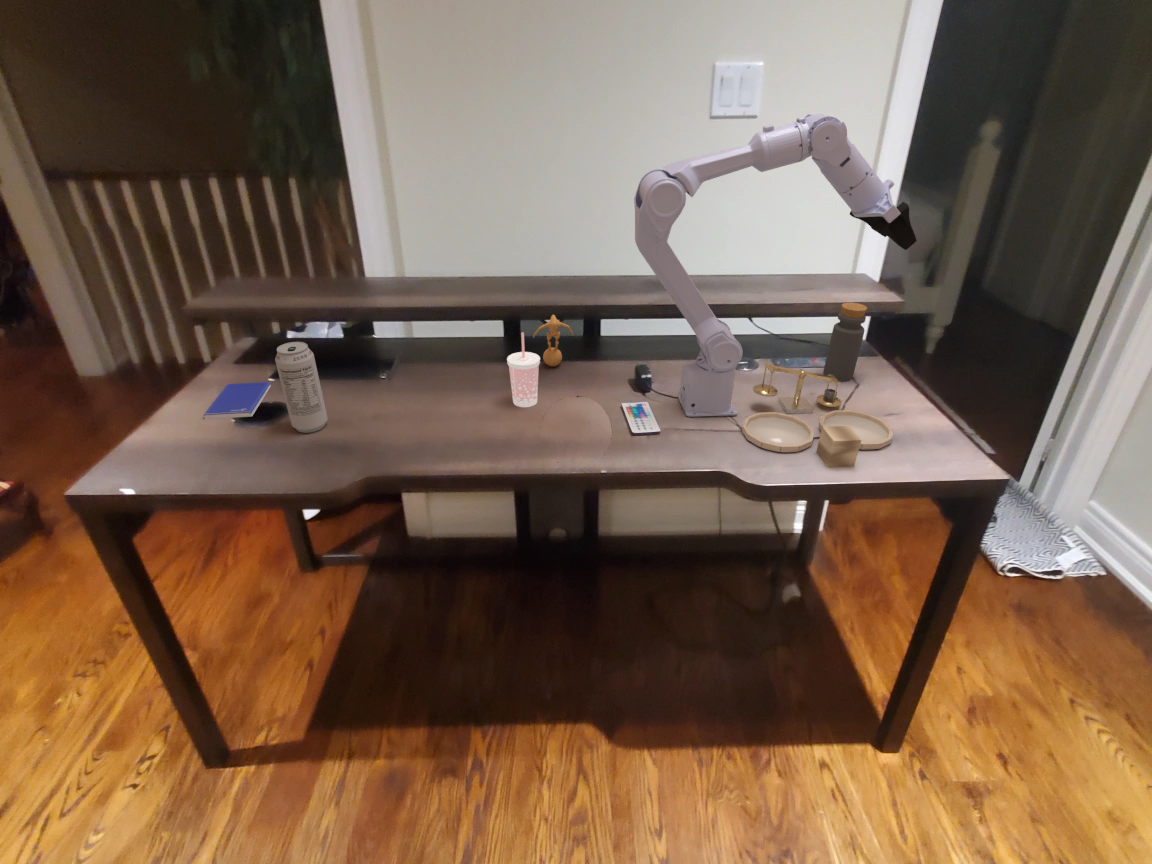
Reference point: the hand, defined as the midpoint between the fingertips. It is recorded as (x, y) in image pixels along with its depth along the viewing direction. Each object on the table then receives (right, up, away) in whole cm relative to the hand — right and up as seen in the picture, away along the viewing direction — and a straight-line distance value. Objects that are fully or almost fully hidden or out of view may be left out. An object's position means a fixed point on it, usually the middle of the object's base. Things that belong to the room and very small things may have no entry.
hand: (899, 238), depth 106 cm
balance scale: (-12, -27, +15) cm, 33 cm away
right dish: (-4, -32, +7) cm, 33 cm away
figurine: (-58, -19, +29) cm, 68 cm away
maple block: (-11, -37, 0) cm, 38 cm away
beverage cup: (-63, -26, +16) cm, 71 cm away
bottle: (+1, -20, +27) cm, 34 cm away
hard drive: (-117, -27, +16) cm, 121 cm away
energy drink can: (-101, -31, +8) cm, 106 cm away
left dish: (-18, -33, +6) cm, 38 cm away
